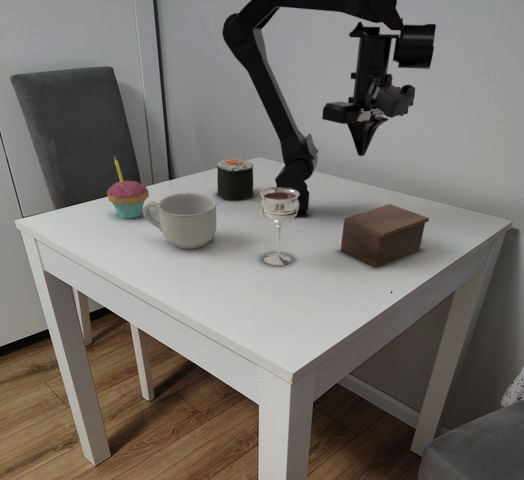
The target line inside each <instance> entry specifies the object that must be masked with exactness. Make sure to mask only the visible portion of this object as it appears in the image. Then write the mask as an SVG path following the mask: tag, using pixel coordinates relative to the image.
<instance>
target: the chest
mask: <svg viewBox="0 0 524 480" xmlns="http://www.w3.org/2000/svg"><path fill="white" fill-rule="evenodd" d="M425 226H426V222H425V223H423V224H420V225H417V226H414V227H411V228H408V229H406V230H403V231H400V232H397V233H394V234H391V235H389V236H386V237H381V236H378V235H376V234H373V233H371V232H369V231H366V230H364V229H361V228H359V227H357V226H354V225H352V224H349V223H347V222H344V221H343V227H342V236H341V244H340V252H341V253H344V254H346V255H348V256H350V257H352V258H354V259H357V260H359V261H361V262H362V263H365V264H367V265H369V266H371V267H374V268H378V267H380V266H382V265H385V264H388V263H390V262H392V261H395V260H398V259H400V258H403V257H405V256H408V255H410V254H413V253H415V252H418V251H420V249H421V245H422V240H423V235H424V230H425Z"/></svg>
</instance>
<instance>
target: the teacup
mask: <svg viewBox="0 0 524 480" xmlns="http://www.w3.org/2000/svg"><path fill="white" fill-rule="evenodd" d="M150 208H154V209H155V210H156V211H157V214H158V216H159V220H157V219H156V218H155V217H153V216H152V215H151V213H150V212H149V211H150V210H149V209H150ZM142 214H143V217H144V219H146V221H147V222H148V223H150V224H151V225H153V226H154V227H156V228H158V229H159V231H160V232H161V233H162V235H163V237H164V238H165V240H166V241H168V242H169V243H170V244H172V245H173V246H175V247H177V248H180V249H185V250H186V249H188V250H190V249H191V250H192V249H193V250H194V249H198V248H201V247H203V246H205V245H207V244H208V243H209V242H210V241H211V240H212V239H213V238H214V236H215V235H216V232H217V200H215V198H213V197H212V196H209V194H208V195H207V194H203V193H199V192H180V193H174V194H169V195H167V196H165V197H163V198H162V199H160V200H159V201H158V202H157V201H155V200H149V201H147V202H145V203H144V204H143V208H142Z"/></svg>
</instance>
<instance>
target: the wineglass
mask: <svg viewBox="0 0 524 480" xmlns="http://www.w3.org/2000/svg"><path fill="white" fill-rule="evenodd" d="M259 194H260V196H261V199H260V200H259V201H260V202H259V210H260V213H261V215H262V216H263V218H265V219H266V221H268V223H271V224H273V226H275V229H276V231H275V232H276V234H275V235H276V237H275V238H276V253H270V254H267V255H265V256H264V257H263V260H264V262H265V263H266V264H268V265H273V266H283V265H284V266H285V265H288V264H290V262H292V258H291V257H290V255H287V254H284V253H280V243H281V231H282V227H283V226H284V224H287V223H290V222H291V221H292V220H293V219H294V218H295V217H297V216H296V215H297V213H298V210H299V201H298V200H297V198H298V196H299V194H300V193H299V192H298V191H296V190H294V189H291V188H284V187H276V186H275V187H267V188H263V189H262V190H260V192H259Z"/></svg>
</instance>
